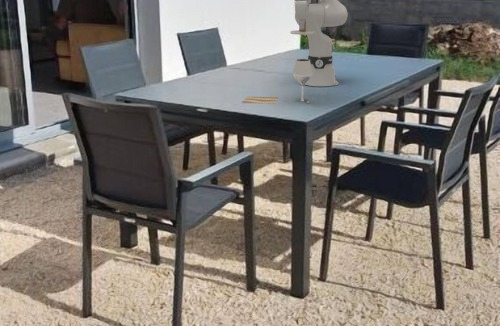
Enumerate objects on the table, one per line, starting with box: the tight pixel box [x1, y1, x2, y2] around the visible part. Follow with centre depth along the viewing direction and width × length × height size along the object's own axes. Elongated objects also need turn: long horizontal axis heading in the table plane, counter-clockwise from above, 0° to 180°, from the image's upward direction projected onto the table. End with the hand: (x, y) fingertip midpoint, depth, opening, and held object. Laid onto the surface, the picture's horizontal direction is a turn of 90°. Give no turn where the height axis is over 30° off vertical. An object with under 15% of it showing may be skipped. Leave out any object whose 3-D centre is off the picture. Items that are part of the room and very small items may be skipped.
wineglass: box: [292, 58, 313, 104], centre depth 273 cm, size 8×8×18 cm
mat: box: [241, 96, 280, 105], centre depth 277 cm, size 14×14×1 cm
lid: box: [290, 21, 315, 36], centre depth 266 cm, size 10×10×5 cm
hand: (302, 28), depth 266 cm, fingers closed on lid, 3 cm apart
